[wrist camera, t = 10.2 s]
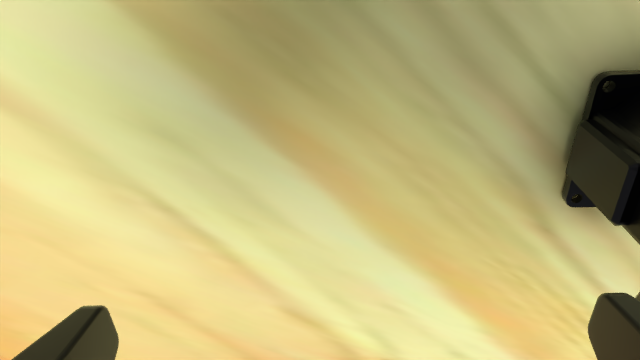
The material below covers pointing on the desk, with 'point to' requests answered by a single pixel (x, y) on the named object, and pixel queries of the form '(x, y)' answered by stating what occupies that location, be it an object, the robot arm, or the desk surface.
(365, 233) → the desk surface
